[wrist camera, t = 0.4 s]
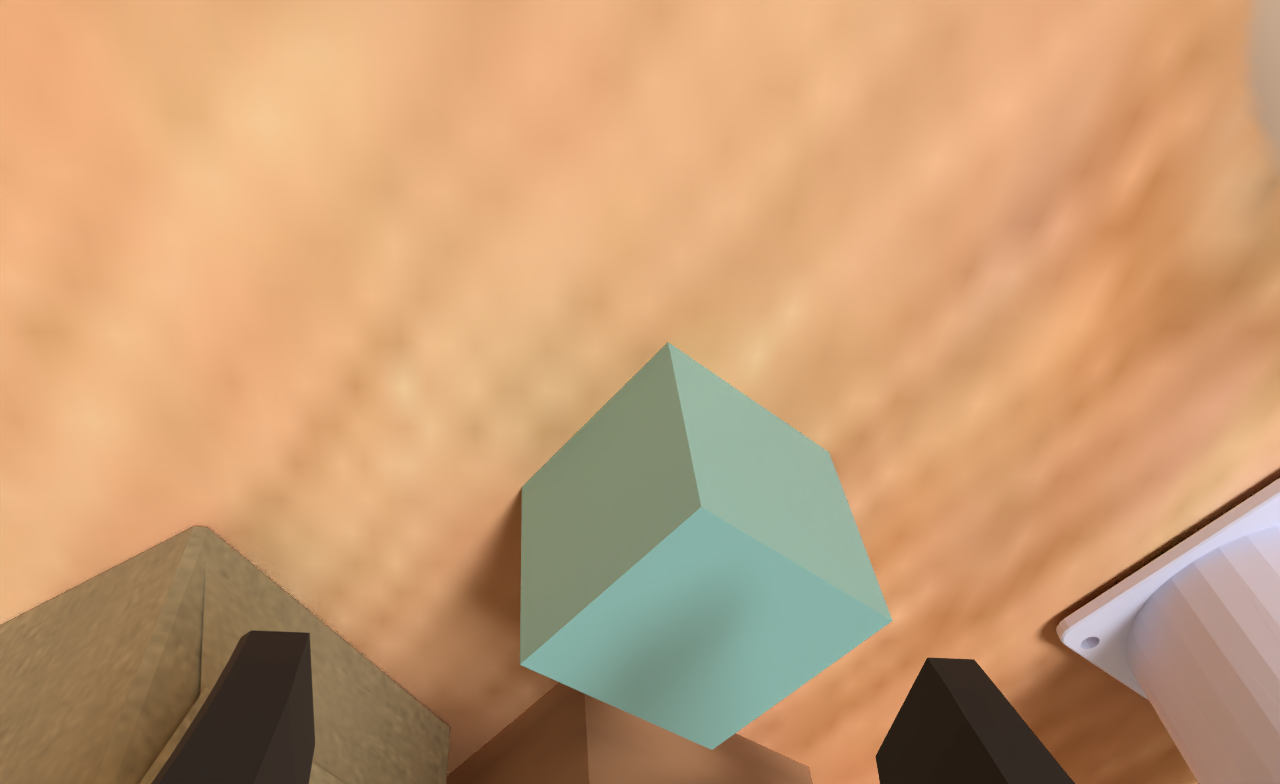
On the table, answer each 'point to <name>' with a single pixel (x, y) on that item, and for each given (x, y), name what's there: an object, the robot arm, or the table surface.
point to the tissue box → (186, 675)
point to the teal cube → (690, 557)
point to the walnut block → (614, 751)
